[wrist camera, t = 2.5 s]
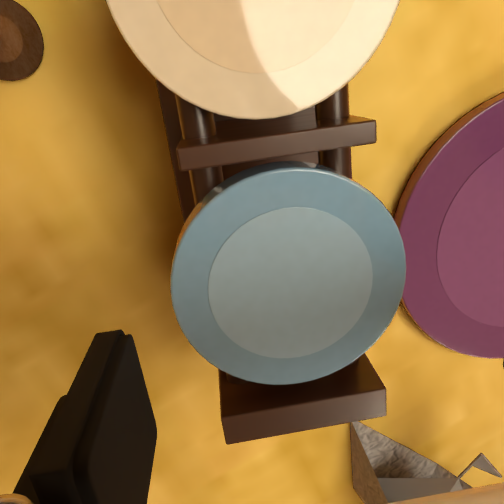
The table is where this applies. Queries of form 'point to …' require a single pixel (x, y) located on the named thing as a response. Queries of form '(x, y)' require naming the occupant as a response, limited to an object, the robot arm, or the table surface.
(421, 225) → the plum plate
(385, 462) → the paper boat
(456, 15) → the table surface
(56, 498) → the robot arm
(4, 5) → the place setting
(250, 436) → the plate rack
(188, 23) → the cream plate
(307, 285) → the blue plate
